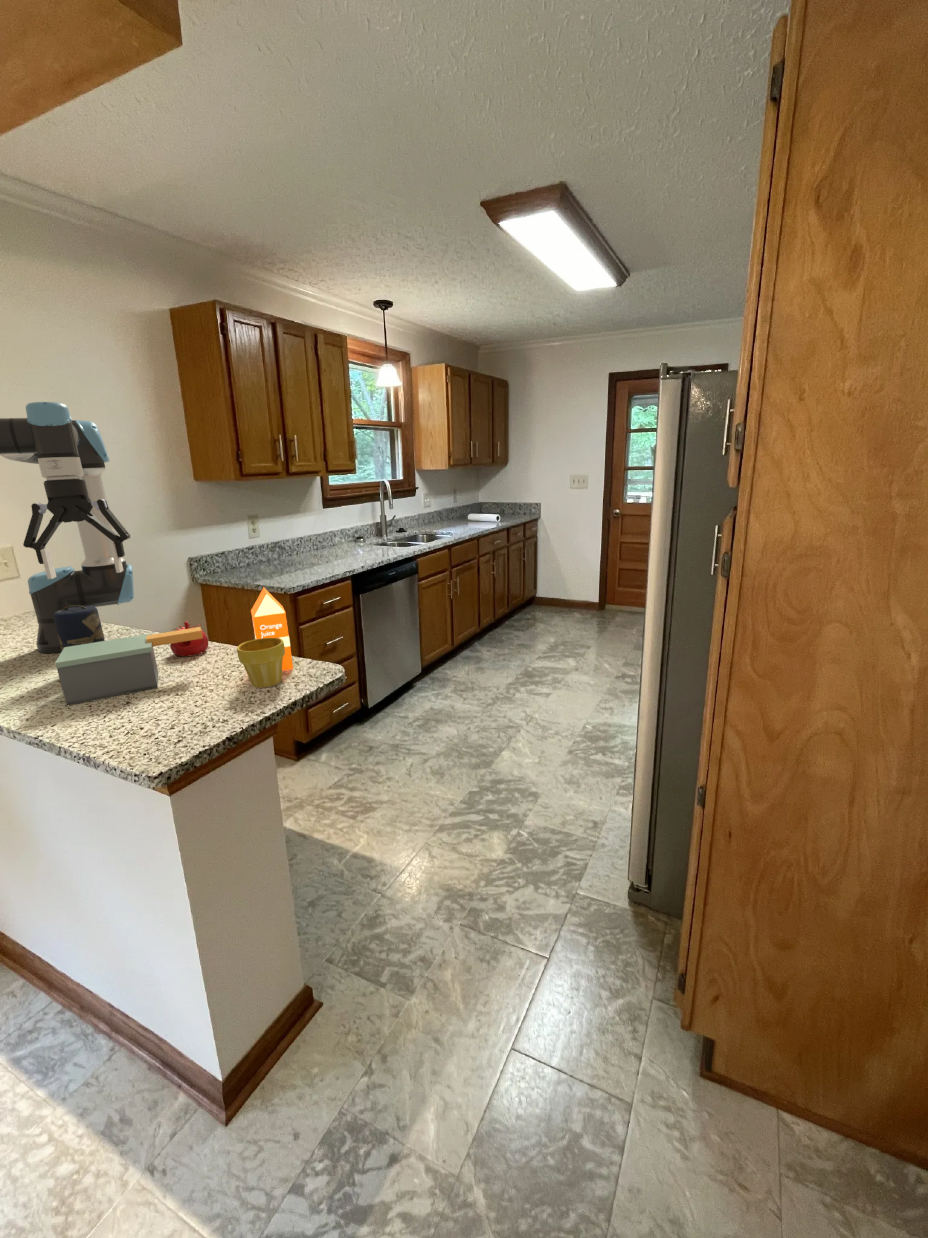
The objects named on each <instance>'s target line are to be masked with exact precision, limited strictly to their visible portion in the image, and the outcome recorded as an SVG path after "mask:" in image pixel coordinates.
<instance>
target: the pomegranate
mask: <svg viewBox="0 0 928 1238" xmlns="http://www.w3.org/2000/svg"><path fill="white" fill-rule="evenodd" d="M183 623H184V626H183V625H180V626H178V628H174V629H171V631H178V630H184V629H190V628H196V627H201V626H202V624H197V625H195V626H191V623H189V621H184V622H183ZM171 631H170V632H171ZM201 631H202V636H203V638H202V639H196V640H190V641H184V642H178V643H172V644H169V648H170V649H171V652H172V653H173V654H174V655H176V656H178V657H179V656H180V657H185V656H187V657H192V656H196V655H197V656H198V655H201V652H202V653H204V652H206V651H207V649H208V648H209V638H208V636H207V633H206V632H205V631H204V630H203V629H201Z"/></svg>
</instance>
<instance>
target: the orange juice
mask: <svg viewBox="0 0 928 1238" xmlns="http://www.w3.org/2000/svg"><path fill="white" fill-rule="evenodd" d="M250 613H251V618H252V625H253V631H254V639H259V638H268V637H275V638H280V639H282V640H283V641H284V647H285V655H284V656H283V665H282V670H283V671H287V670H293V669H294V664H293V656H292V651H291V650H292V649H291V641H290V635H289V629H288V620H287V615H286V610H285V609H284V607H283V605H282V604H281V603H280V602H279V601H278V600H277V599H276V598H275V597H274V596H273V595H272V594H271V593H270V592H269V591H268V590H267V589H266V588H265V587H263V588H262V590H261V591H260V593H259V595H258V597H257V599H256V601H255V603H254V604H253V606H252V608H251V609H250Z"/></svg>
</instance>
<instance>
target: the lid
mask: <svg viewBox="0 0 928 1238" xmlns="http://www.w3.org/2000/svg"><path fill="white" fill-rule="evenodd" d="M189 628H190V629H184V630H178V631H176V630H172V631H167V632H160V633H147V634H140V635H134V636H126V637H122V638H115V639H109V640H108V639H107V640H105V641H101V642H95V643H89V644H82V645H76V646H70V647H64V649H63V651H62V652H60V653H59V656H58V657H57V659H56V660H55V662H54V664H55V668H56V669H57V668H60V667H66V666H72V665H78V664H84V663H90V662H95V661H101V660H107V659H113V658H119V657H125V656H131V655H136V654H142V653H148V652H152V649H154V647H158V646H159V647H160V646H165V645H166V646H167V645H170V644H172V643H178V642H184V641H190V640H196V639H202V638H203V636H202V631H201V630H202V627H201V626H196V627H194V628H191V627H189Z"/></svg>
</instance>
